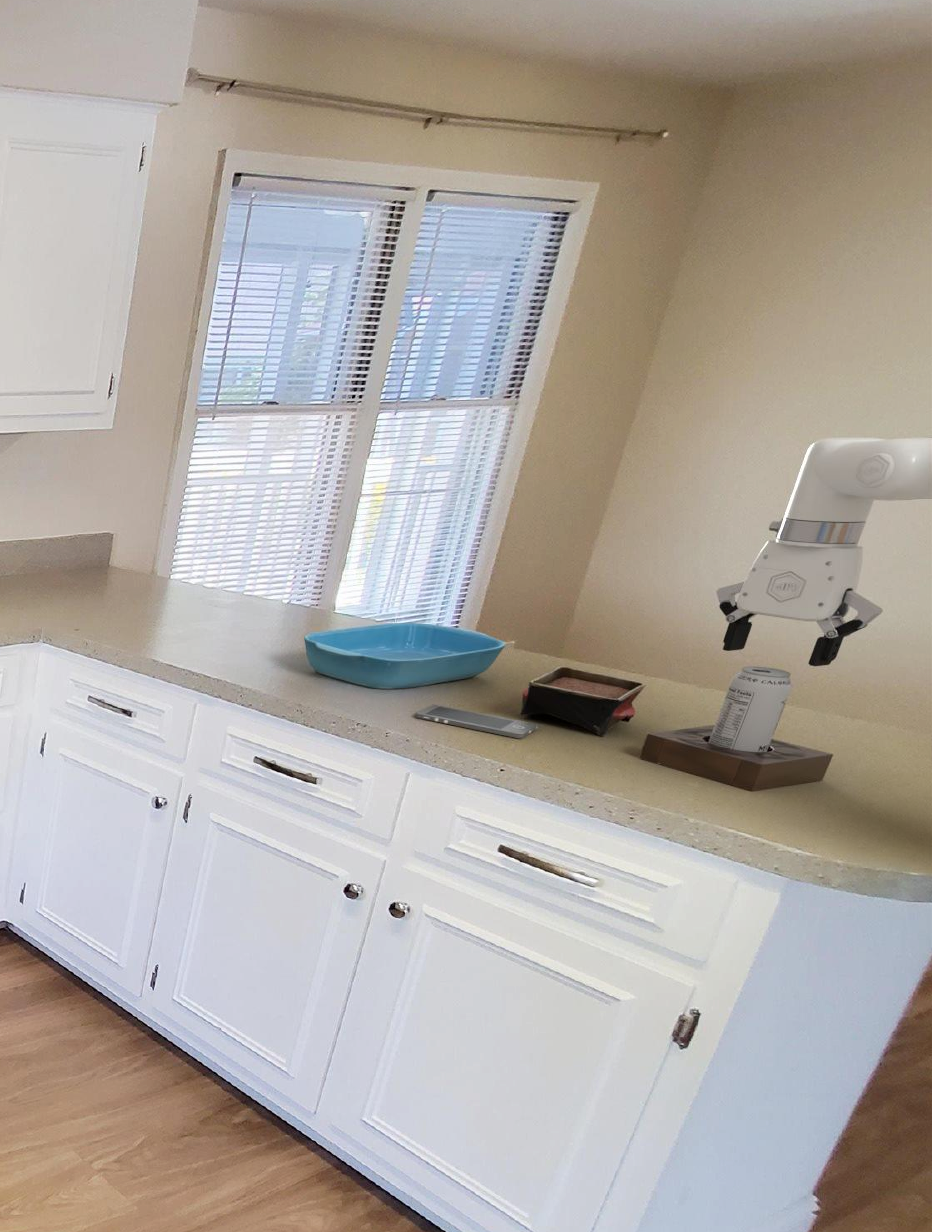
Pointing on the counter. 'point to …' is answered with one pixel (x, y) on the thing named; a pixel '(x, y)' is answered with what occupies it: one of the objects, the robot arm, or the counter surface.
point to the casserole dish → (401, 654)
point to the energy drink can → (752, 709)
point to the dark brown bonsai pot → (582, 698)
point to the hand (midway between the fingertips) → (774, 657)
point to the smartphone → (477, 721)
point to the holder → (735, 760)
